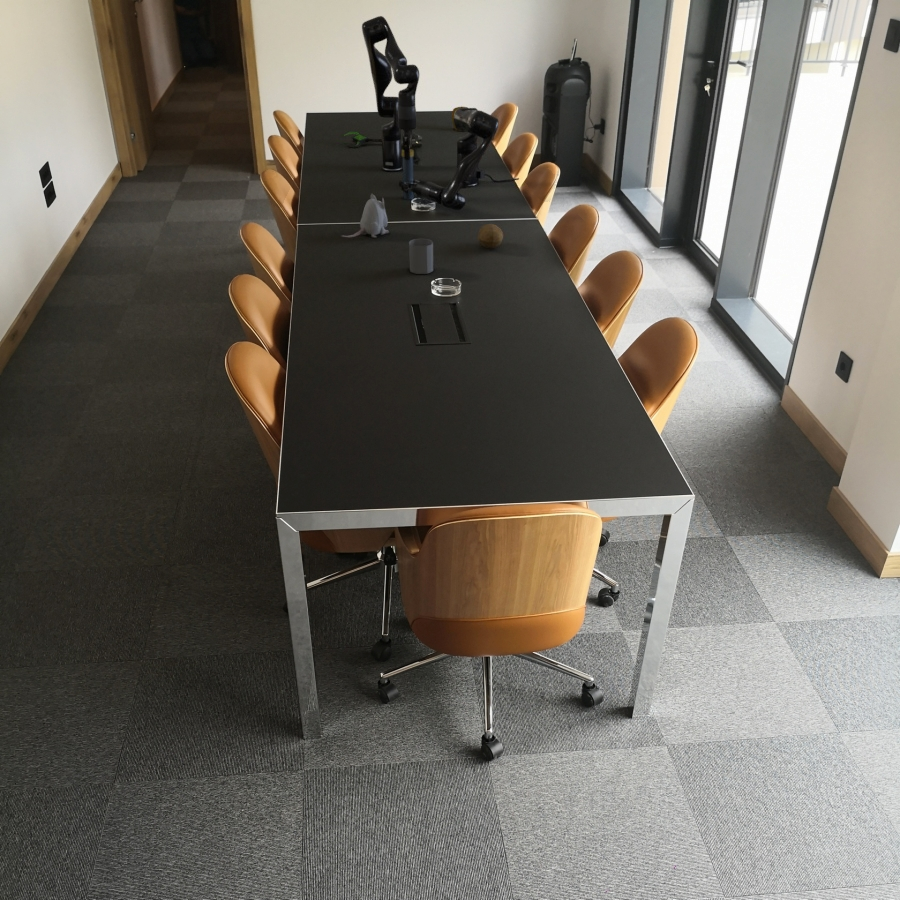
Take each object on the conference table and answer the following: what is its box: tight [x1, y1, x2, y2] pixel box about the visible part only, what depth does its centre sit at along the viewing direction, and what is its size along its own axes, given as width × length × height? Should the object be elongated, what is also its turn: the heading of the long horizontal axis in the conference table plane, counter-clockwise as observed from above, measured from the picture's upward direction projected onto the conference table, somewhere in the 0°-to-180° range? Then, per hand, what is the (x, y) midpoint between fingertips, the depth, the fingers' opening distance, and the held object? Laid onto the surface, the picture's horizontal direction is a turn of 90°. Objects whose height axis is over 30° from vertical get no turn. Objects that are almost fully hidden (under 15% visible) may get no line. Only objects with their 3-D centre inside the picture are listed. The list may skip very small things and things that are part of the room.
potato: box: [477, 223, 504, 249], centre depth 326 cm, size 10×14×8 cm
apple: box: [451, 105, 468, 132], centre depth 487 cm, size 11×11×13 cm
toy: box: [341, 193, 390, 239], centre depth 333 cm, size 9×24×15 cm, turn 137°
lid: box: [402, 148, 415, 158], centre depth 371 cm, size 5×5×2 cm
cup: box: [408, 237, 434, 275], centre depth 305 cm, size 8×8×10 cm
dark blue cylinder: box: [402, 156, 415, 201], centre depth 376 cm, size 4×4×20 cm
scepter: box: [342, 131, 382, 148], centre depth 461 cm, size 6×13×30 cm
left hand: (407, 157), depth 372 cm, fingers closed on lid, 5 cm apart
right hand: (404, 182), depth 380 cm, fingers closed on dark blue cylinder, 4 cm apart
